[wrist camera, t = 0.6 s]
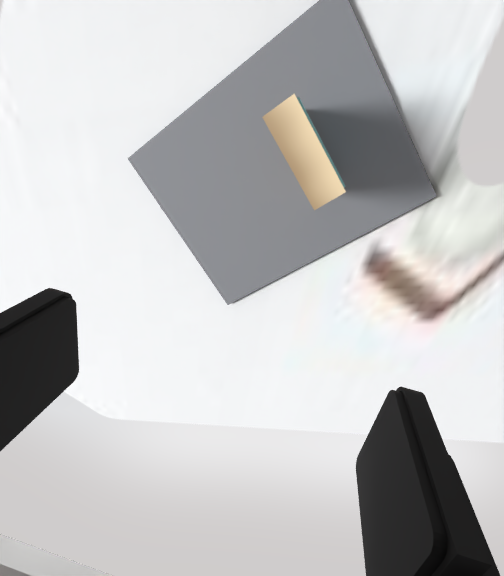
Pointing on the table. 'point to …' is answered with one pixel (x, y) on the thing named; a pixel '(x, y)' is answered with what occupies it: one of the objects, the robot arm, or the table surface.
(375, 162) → the rubber mat
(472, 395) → the table surface
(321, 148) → the maple tile
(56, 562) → the robot arm
